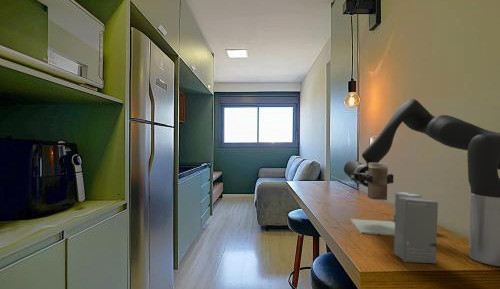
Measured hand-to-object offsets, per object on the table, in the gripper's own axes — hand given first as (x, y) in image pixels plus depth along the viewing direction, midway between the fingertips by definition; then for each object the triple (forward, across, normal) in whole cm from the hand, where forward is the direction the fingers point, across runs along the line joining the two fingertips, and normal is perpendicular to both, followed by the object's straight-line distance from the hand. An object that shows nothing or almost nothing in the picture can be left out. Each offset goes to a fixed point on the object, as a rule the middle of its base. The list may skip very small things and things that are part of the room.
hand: (380, 179), depth 91 cm
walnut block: (-3, 0, +6) cm, 7 cm away
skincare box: (+11, +6, +20) cm, 23 cm away
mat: (-19, +5, +19) cm, 27 cm away
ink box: (-28, +18, +19) cm, 38 cm away
